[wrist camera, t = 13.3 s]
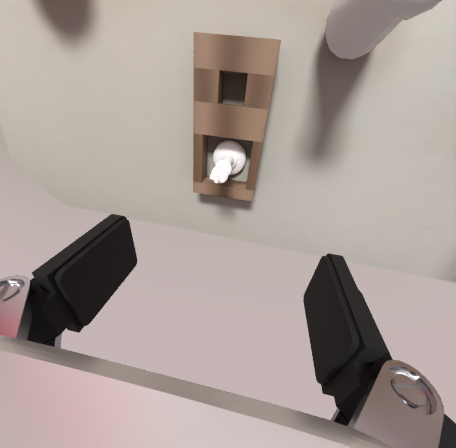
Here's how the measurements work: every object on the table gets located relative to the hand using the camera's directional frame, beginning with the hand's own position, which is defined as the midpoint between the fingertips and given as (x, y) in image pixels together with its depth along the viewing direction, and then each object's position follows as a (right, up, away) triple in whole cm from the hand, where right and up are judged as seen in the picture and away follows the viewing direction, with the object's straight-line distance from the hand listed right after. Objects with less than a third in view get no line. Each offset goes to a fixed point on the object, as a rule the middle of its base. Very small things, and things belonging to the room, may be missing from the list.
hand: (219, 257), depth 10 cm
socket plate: (+1, +15, +18) cm, 23 cm away
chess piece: (+1, +12, +20) cm, 23 cm away
